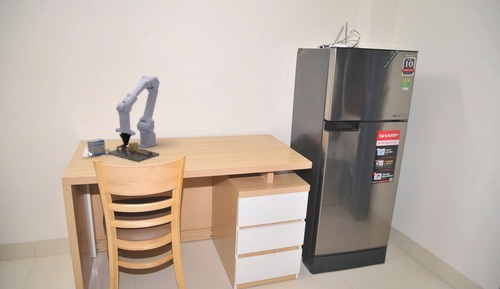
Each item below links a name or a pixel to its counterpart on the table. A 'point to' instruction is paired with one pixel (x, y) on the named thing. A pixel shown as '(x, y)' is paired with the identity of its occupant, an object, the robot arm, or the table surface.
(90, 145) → the medicine box
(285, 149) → the table surface
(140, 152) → the beam
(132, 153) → the dark grey flat plate
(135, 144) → the sliding head
